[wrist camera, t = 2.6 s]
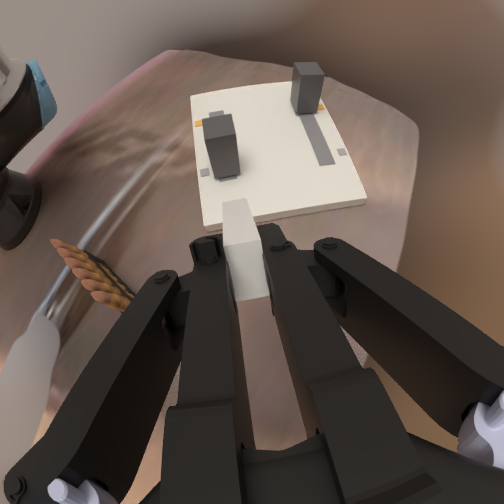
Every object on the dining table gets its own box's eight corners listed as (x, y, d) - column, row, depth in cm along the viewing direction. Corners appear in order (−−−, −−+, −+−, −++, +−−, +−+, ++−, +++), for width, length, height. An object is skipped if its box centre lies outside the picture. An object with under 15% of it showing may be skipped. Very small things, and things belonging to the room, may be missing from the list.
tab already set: (317, 112, 39) (324, 74, 32) (296, 114, 39) (301, 75, 32) (310, 99, 41) (316, 62, 33) (290, 100, 40) (293, 62, 33)
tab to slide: (240, 173, 36) (236, 133, 28) (214, 178, 36) (204, 139, 28) (236, 154, 37) (231, 113, 29) (211, 158, 37) (201, 119, 29)
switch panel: (362, 204, 37) (367, 197, 35) (206, 232, 36) (203, 225, 34) (309, 88, 45) (310, 79, 43) (192, 103, 44) (190, 95, 42)
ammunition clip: (95, 270, 35) (42, 241, 24) (102, 260, 36) (52, 228, 24) (142, 320, 33) (91, 307, 21) (151, 309, 33) (102, 292, 22)
